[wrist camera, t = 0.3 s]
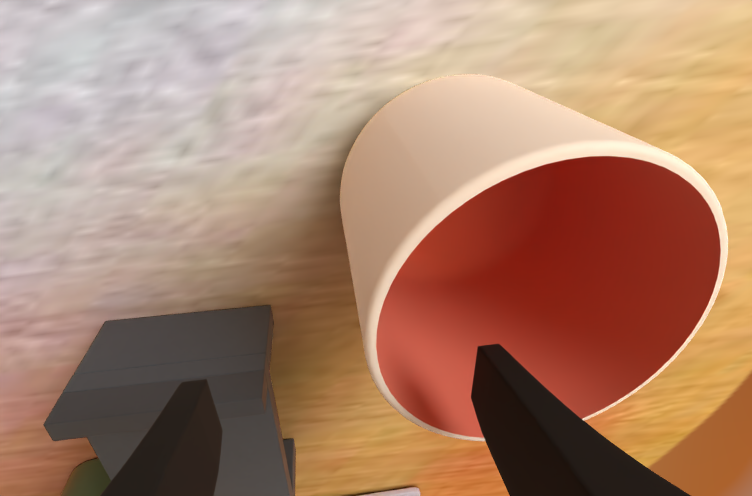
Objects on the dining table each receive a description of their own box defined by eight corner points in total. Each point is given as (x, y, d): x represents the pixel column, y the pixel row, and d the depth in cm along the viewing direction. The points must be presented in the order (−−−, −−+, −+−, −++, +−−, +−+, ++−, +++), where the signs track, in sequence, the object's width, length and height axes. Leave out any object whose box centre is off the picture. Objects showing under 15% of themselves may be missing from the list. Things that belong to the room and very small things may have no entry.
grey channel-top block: (295, 449, 28) (294, 550, 23) (168, 467, 27) (137, 576, 22) (271, 304, 22) (261, 397, 17) (105, 320, 21) (42, 424, 16)
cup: (290, 180, 19) (280, 335, 10) (474, 10, 17) (654, 32, 8) (424, 304, 24) (493, 480, 15) (583, 186, 21) (769, 316, 13)
